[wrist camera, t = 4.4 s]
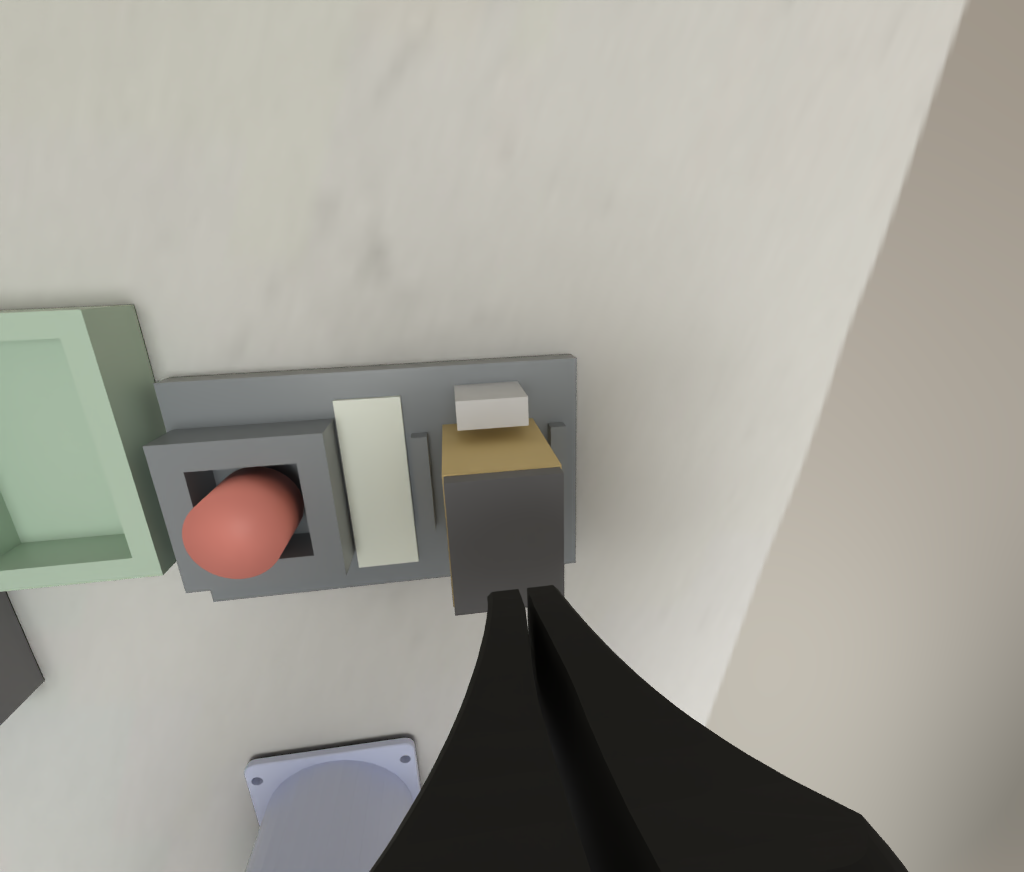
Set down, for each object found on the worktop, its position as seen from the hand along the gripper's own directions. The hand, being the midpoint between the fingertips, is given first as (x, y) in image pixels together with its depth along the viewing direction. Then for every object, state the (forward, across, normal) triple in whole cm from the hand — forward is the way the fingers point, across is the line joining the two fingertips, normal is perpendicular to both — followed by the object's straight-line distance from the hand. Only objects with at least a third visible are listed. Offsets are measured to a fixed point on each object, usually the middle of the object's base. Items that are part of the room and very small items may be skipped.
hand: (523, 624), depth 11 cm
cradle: (+10, +4, 0) cm, 11 cm away
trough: (+10, +15, -2) cm, 18 cm away
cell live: (+9, 0, 0) cm, 9 cm away
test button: (+8, +8, 0) cm, 12 cm away
